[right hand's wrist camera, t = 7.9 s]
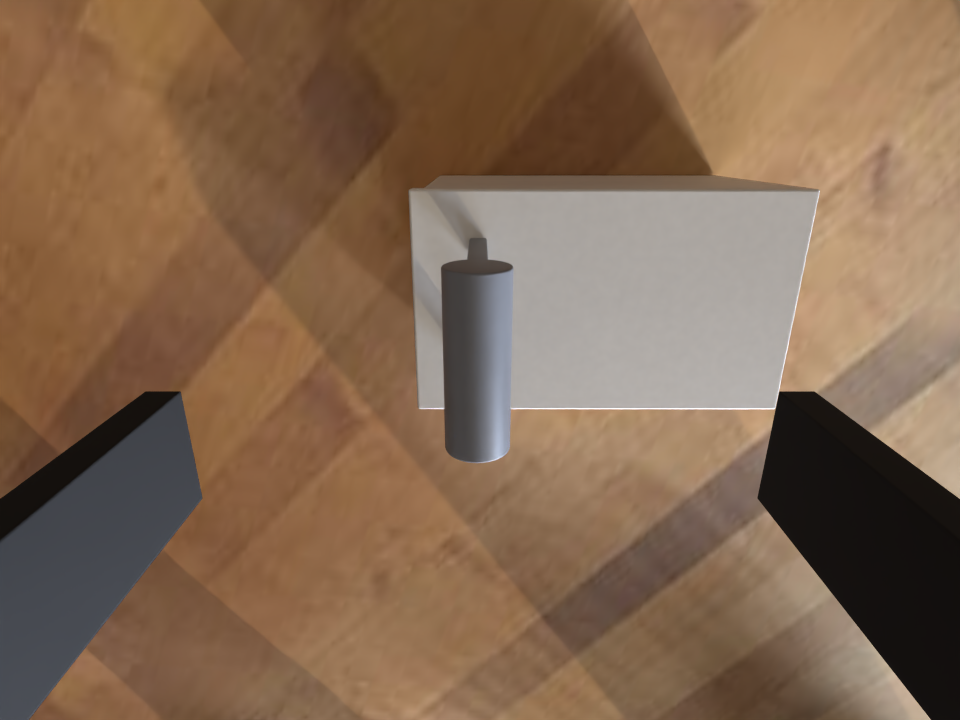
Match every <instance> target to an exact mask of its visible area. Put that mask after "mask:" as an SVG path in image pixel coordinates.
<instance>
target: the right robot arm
mask: <svg viewBox="0 0 960 720" xmlns="http://www.w3.org/2000/svg"><path fill="white" fill-rule="evenodd" d="M201 499H202V494H201V489H200V484H199V479H198V474H197V469H196V464H195V459H194V455H193V450H192V445H191V440H190V435H189V430H188V425H187V420H186V416H185V411H184V406H183V401H182V396H181V392H144V393H143V394H142V395H140V396H139V397H138V398H136V399H135V400H134V401H132V402H131V403H130V404H128V405H127V406H125V407H124V408H123V409H121V410H120V411H119V412H117V413H116V414H115V415H113V416H112V417H111V418H109V419H108V420H107V421H105V422H104V423H102V424H101V425H100V426H98V427H97V428H96V429H94V430H93V431H92V432H90V433H89V434H88V435H86V436H85V437H84V438H82V439H81V440H79V441H78V442H77V443H75V444H74V445H73V446H71V447H70V448H69V449H67V450H66V451H65V452H63V453H62V454H61V455H59V456H58V457H56V458H55V459H54V460H52V461H51V462H50V463H48V464H47V465H46V466H44V467H43V468H42V469H40V470H39V471H38V472H36V473H35V474H34V475H32V476H31V477H29V478H28V479H27V480H25V481H24V482H23V483H21V484H20V485H19V486H17V487H16V488H15V489H13V490H12V491H11V492H9V493H8V494H6V495H5V496H4V497H2V498H1V499H0V720H29V719H30V718H31V716H32V715H33V714H34V712H35V711H36V710H37V709H38V707H39V706H40V705H41V704H42V702H43V701H44V700H45V698H46V697H47V696H48V695H49V693H50V692H51V691H52V690H53V688H54V687H55V686H56V684H57V683H58V682H59V681H60V679H61V678H62V677H63V675H64V674H65V673H66V672H67V670H68V669H69V668H70V667H71V665H72V664H73V663H74V661H75V660H76V659H77V658H78V656H79V655H80V654H81V653H82V651H83V650H84V649H85V647H86V646H87V645H88V644H89V642H90V641H91V640H92V639H93V637H94V636H95V635H96V633H97V632H98V631H99V630H100V628H101V627H102V626H103V624H104V623H105V622H106V621H107V619H108V618H109V617H110V616H111V614H112V613H113V612H114V610H115V609H116V608H117V607H118V605H119V604H120V603H121V602H122V600H123V599H124V598H125V596H126V595H127V594H128V593H129V591H130V590H131V589H132V587H133V586H134V585H135V584H136V582H137V581H138V580H139V579H140V577H141V576H142V575H143V573H144V572H145V571H146V570H147V568H148V567H149V566H150V565H151V563H152V562H153V561H154V559H155V558H156V557H157V556H158V554H159V553H160V552H161V551H162V549H163V548H164V547H165V545H166V544H167V543H168V542H169V540H170V539H171V538H172V536H173V535H174V534H175V533H176V531H177V530H178V529H179V528H180V526H181V525H182V524H183V522H184V521H185V520H186V519H187V517H188V516H189V515H190V514H191V512H192V511H193V510H194V508H195V507H196V506H197V505H198V503H199V502H200V501H201ZM758 499H759V501H760V502H761V503H762V505H763V506H764V507H765V508H766V510H767V511H768V512H769V514H770V515H771V516H772V517H773V519H774V520H775V521H776V522H777V524H778V525H779V526H780V528H781V529H782V530H783V531H784V533H785V534H786V535H787V536H788V538H789V539H790V540H791V542H792V543H793V544H794V545H795V547H796V548H797V549H798V551H799V552H800V553H801V554H802V556H803V557H804V558H805V559H806V561H807V562H808V563H809V565H810V566H811V567H812V568H813V570H814V571H815V572H816V573H817V575H818V576H819V577H820V579H821V580H822V581H823V582H824V584H825V585H826V586H827V587H828V589H829V590H830V591H831V593H832V594H833V595H834V596H835V598H836V599H837V600H838V602H839V603H840V604H841V605H842V607H843V608H844V609H845V610H846V612H847V613H848V614H849V616H850V617H851V618H852V619H853V621H854V622H855V623H856V624H857V626H858V627H859V628H860V630H861V631H862V632H863V633H864V635H865V636H866V637H867V639H868V640H869V641H870V642H871V644H872V645H873V646H874V647H875V649H876V650H877V651H878V653H879V654H880V655H881V656H882V658H883V659H884V660H885V661H886V663H887V664H888V665H889V667H890V668H891V669H892V670H893V672H894V673H895V674H896V675H897V677H898V678H899V679H900V681H901V682H902V683H903V684H904V686H905V687H906V688H907V690H908V691H909V692H910V693H911V695H912V696H913V697H914V698H915V700H916V701H917V702H918V704H919V705H920V706H921V707H922V709H923V710H924V711H925V712H926V714H927V715H928V716H929V718H930V719H931V720H960V499H959V498H958V497H956V496H955V495H954V494H952V493H951V492H949V491H948V490H947V489H945V488H944V487H943V486H941V485H940V484H939V483H937V482H936V481H935V480H933V479H932V478H931V477H929V476H928V475H926V474H925V473H924V472H922V471H921V470H920V469H918V468H917V467H916V466H914V465H913V464H912V463H910V462H909V461H908V460H906V459H905V458H904V457H902V456H901V455H899V454H898V453H897V452H895V451H894V450H893V449H891V448H890V447H889V446H887V445H886V444H885V443H883V442H882V441H881V440H879V439H878V438H876V437H875V436H874V435H872V434H871V433H870V432H868V431H867V430H866V429H864V428H863V427H862V426H860V425H859V424H858V423H856V422H855V421H853V420H852V419H851V418H849V417H848V416H847V415H845V414H844V413H843V412H841V411H840V410H839V409H837V408H836V407H835V406H833V405H832V404H830V403H829V402H828V401H826V400H825V399H824V398H822V397H821V396H820V395H818V394H817V393H816V392H779V396H778V401H777V406H776V411H775V416H774V420H773V425H772V430H771V435H770V440H769V445H768V450H767V455H766V459H765V464H764V469H763V474H762V479H761V484H760V489H759V493H758Z"/></svg>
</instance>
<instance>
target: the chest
mask: <svg viewBox="0 0 960 720" xmlns="http://www.w3.org/2000/svg"><path fill="white" fill-rule="evenodd" d="M425 188H806V187H798V186H790V185H783V184H775V183H768V182H760V181H753V180H745V179H738V178H730V177H723V176H612V175H440V176H439V177H438V178H436V179H435V180H434V181H432V182H431V183H430V184H428V185H427V186H426V187H425Z"/></svg>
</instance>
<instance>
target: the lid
mask: <svg viewBox="0 0 960 720" xmlns="http://www.w3.org/2000/svg"><path fill="white" fill-rule="evenodd" d="M819 192H820V191H819V190H818V189H812V188H411V189H410V190H409V214H410V238H411V261H412V284H413V307H414V331H415V354H416V377H417V400H418V408H419V409H444V414H445V448H446V450H447V452H448V453H449V454H450V455H451V456H452V457H454V458H456V459H458V460H461V461H465V462H471V463H484V462H490V461H494V460H497V459H499V458H501V457H503V456H504V455H505V454H506V453H507V452H508V450H509V448H510V411H511V409H775V407H776V402H777V397H778V392H779V388H780V383H781V378H782V373H783V368H784V363H785V358H786V353H787V349H788V344H789V339H790V334H791V329H792V324H793V319H794V314H795V310H796V305H797V300H798V295H799V290H800V285H801V280H802V275H803V271H804V266H805V261H806V256H807V251H808V246H809V241H810V236H811V231H812V227H813V222H814V217H815V212H816V207H817V202H818V197H819Z"/></svg>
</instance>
